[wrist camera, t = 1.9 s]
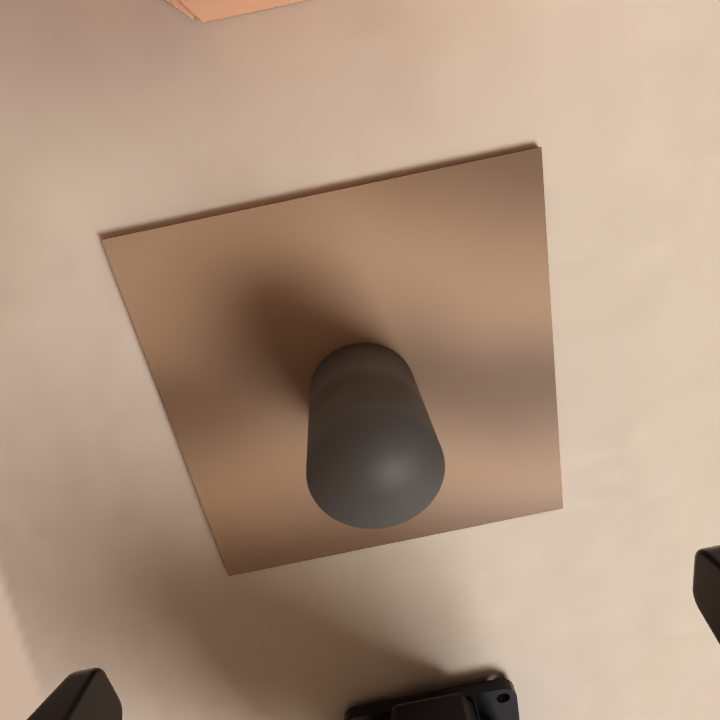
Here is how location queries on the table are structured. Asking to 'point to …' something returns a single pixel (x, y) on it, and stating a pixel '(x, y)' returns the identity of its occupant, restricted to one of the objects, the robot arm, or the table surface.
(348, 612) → the table surface
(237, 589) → the table surface
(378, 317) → the lid
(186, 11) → the bowl
